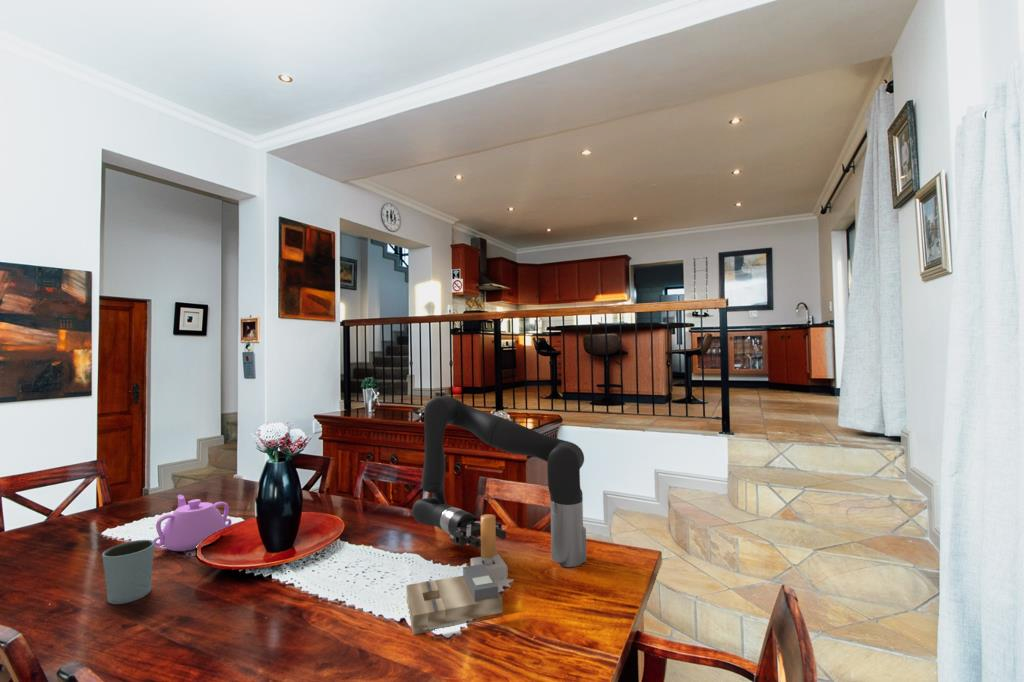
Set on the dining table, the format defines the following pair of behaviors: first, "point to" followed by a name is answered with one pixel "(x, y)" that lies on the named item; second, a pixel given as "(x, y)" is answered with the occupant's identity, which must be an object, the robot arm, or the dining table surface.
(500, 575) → the awl stand
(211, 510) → the teapot
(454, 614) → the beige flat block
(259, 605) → the dining table surface
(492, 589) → the block
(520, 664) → the dining table surface
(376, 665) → the dining table surface
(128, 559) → the grey cup
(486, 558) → the awl
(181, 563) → the dining table surface
